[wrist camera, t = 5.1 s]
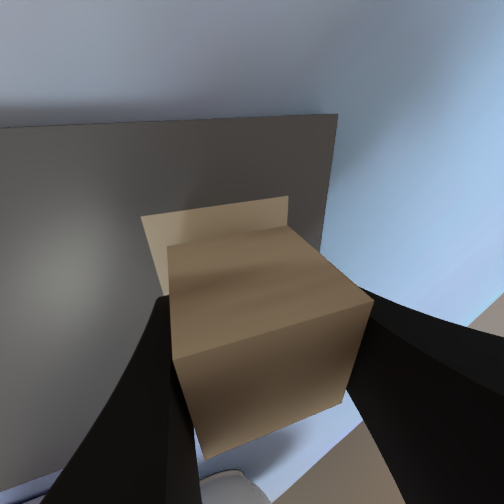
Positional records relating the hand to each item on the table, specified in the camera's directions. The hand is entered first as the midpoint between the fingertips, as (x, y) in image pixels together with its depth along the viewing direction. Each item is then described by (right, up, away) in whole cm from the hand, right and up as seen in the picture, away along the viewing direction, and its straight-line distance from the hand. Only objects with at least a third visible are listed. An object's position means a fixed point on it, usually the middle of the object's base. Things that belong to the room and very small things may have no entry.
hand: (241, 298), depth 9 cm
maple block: (0, +1, +1) cm, 1 cm away
